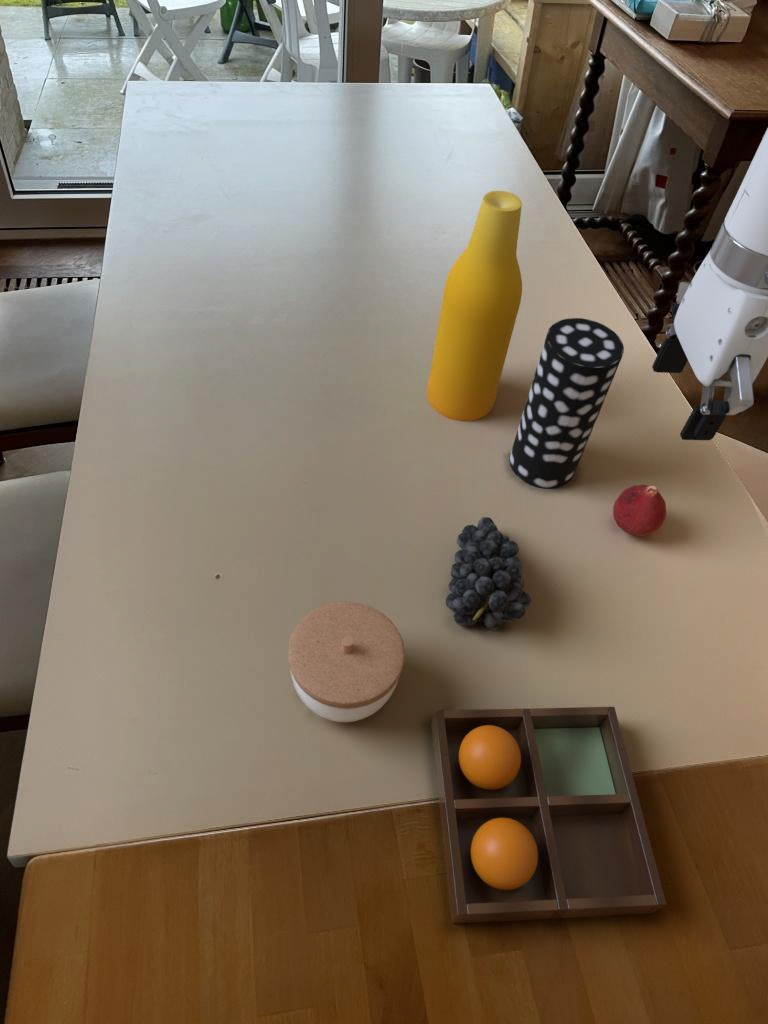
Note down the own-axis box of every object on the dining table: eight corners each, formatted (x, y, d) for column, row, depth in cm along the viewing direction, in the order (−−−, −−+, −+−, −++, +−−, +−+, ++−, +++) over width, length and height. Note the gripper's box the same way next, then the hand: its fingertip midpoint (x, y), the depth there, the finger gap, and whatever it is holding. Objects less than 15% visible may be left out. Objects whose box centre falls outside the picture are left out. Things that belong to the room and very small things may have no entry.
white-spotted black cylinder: (543, 502, 96) (590, 378, 80) (494, 462, 99) (531, 335, 84) (586, 472, 100) (639, 348, 84) (538, 434, 103) (580, 308, 88)
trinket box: (318, 625, 82) (320, 575, 75) (412, 665, 80) (423, 617, 73) (269, 712, 76) (266, 666, 68) (371, 757, 74) (379, 714, 66)
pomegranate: (605, 544, 92) (627, 501, 86) (605, 507, 96) (626, 463, 90) (654, 553, 92) (680, 510, 86) (652, 516, 96) (676, 472, 90)
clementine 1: (508, 739, 75) (521, 714, 71) (518, 797, 72) (532, 775, 67) (450, 740, 75) (460, 715, 70) (458, 799, 71) (468, 777, 67)
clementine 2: (523, 828, 70) (538, 807, 66) (534, 896, 67) (551, 878, 62) (461, 830, 69) (472, 809, 65) (470, 899, 66) (482, 881, 62)
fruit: (477, 478, 85) (472, 591, 75) (543, 504, 87) (546, 617, 77) (441, 522, 91) (432, 632, 81) (503, 546, 93) (502, 656, 83)
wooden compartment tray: (602, 723, 78) (614, 706, 75) (650, 915, 67) (666, 904, 64) (429, 727, 76) (435, 710, 73) (450, 925, 65) (457, 914, 62)
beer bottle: (441, 369, 110) (478, 170, 87) (503, 393, 108) (557, 195, 85) (414, 409, 104) (446, 206, 82) (478, 434, 102) (528, 234, 80)
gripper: (844, 320, 61) (745, 467, 74) (763, 201, 72) (689, 348, 85) (753, 316, 60) (669, 466, 73) (685, 196, 71) (622, 346, 84)
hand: (680, 403), depth 79 cm, fingers open, 9 cm apart
